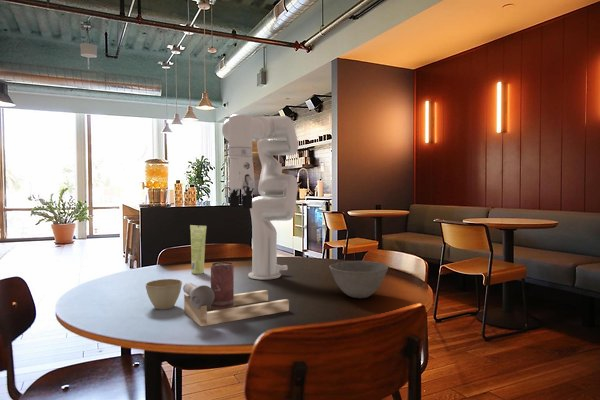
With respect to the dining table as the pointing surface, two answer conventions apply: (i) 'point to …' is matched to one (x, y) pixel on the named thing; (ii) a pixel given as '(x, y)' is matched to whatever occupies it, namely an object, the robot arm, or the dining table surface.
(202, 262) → the tube
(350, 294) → the bowl
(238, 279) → the dining table surface
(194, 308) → the bay
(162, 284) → the flower pot
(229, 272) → the can
